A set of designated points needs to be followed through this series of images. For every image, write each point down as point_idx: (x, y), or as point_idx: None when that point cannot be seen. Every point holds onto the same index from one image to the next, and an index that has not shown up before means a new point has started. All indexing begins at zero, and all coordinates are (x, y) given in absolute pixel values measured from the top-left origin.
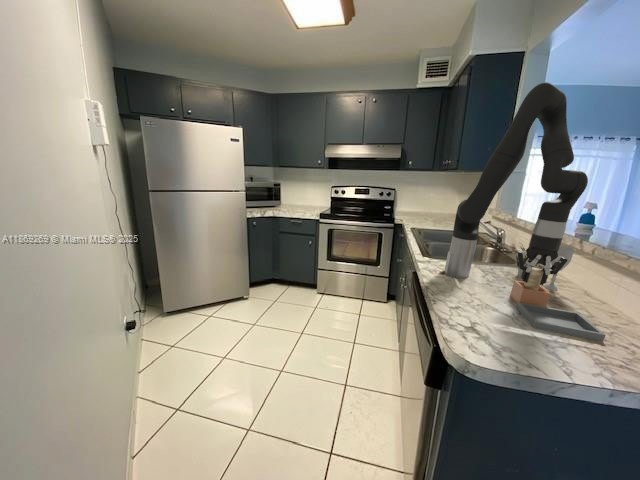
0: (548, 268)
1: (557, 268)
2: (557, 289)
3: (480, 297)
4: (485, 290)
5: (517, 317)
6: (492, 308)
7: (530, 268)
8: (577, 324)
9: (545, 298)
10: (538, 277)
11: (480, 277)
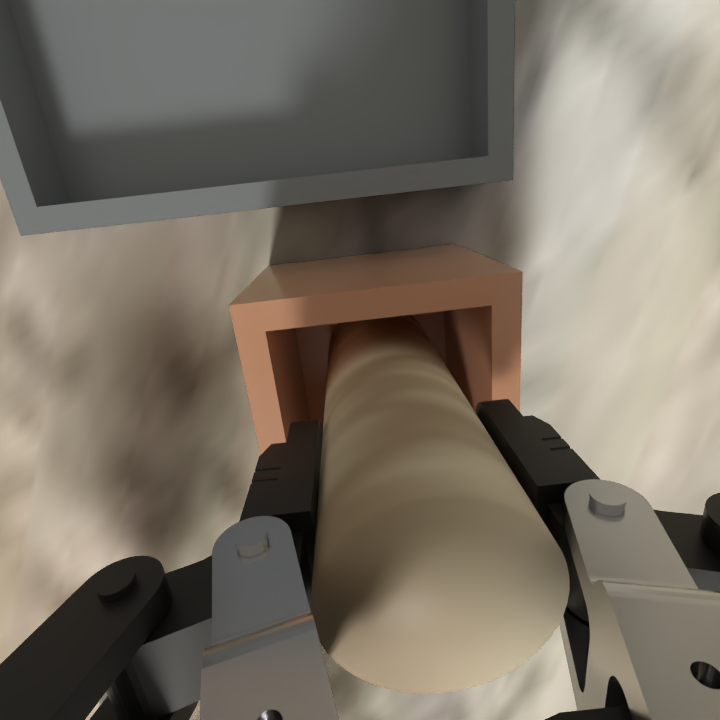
0: (252, 633)
1: (23, 710)
2: (99, 700)
3: (696, 294)
4: (601, 455)
5: (520, 20)
6: (679, 104)
7: (605, 547)
8: (67, 90)
9: (275, 285)
10: (396, 428)
11: (556, 661)
